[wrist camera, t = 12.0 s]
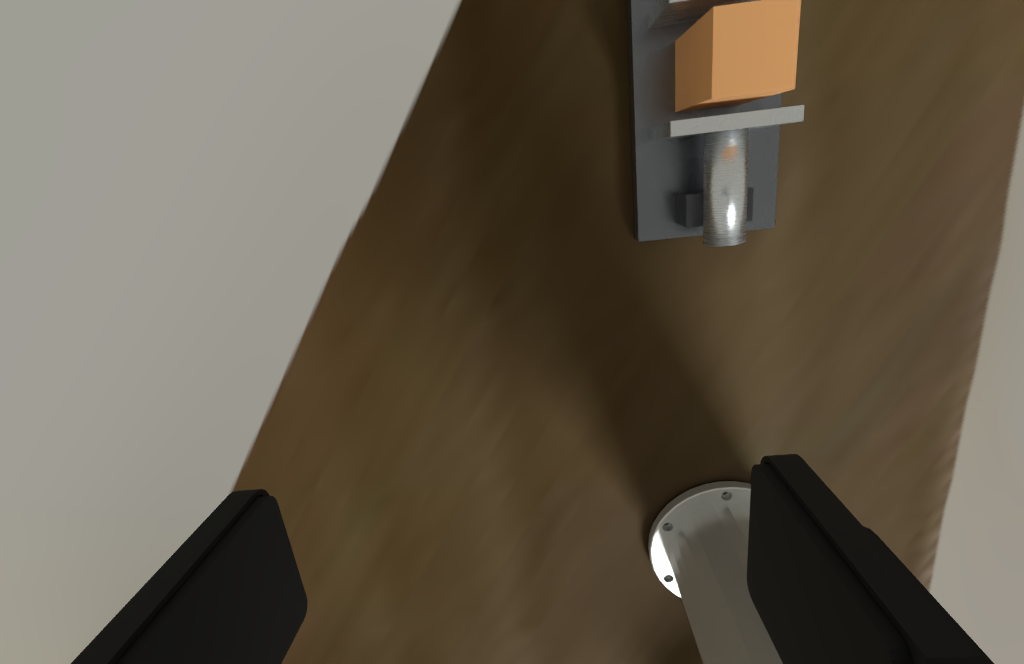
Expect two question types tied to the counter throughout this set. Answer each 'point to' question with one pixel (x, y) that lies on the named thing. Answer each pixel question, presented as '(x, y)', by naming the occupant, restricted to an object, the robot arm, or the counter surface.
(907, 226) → the counter surface
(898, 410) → the counter surface
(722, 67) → the orange block
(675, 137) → the shaft stand
